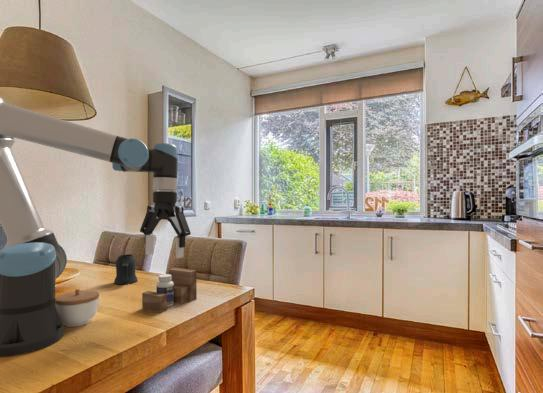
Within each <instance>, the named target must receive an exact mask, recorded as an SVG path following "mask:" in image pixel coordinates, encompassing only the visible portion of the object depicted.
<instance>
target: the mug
mask: <svg viewBox="0 0 543 393" xmlns="http://www.w3.org/2000/svg"><path fill="white" fill-rule="evenodd" d="M136 262H137V261H136V259H135V256H134V255H133V254H128V253H127V254H120V255H118V256H117V259H116V260H115V271H116V272H115V274H116V276H115V278H114V280H113V285H115V284H116V285H117V286H129V285H133V284H136V283H138V277H137V275H136V265H137V264H136ZM128 284H129V285H128Z"/></svg>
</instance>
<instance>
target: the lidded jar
mask: <svg viewBox="0 0 543 393" xmlns="http://www.w3.org/2000/svg"><path fill="white" fill-rule="evenodd" d="M99 297H100V292H99V291H98V290H94V289H93V290H92V289H84V290H83V289H81V290H80V288H77V289H76V288H75V290H74V291H70V292H65V293H62V294H59V295H57V296H55V306H56V308H57V311H58V313H59V316H60V318H61V321H62V323H63V325H64V326H65V327H67V328H76V327H81V326H84V325H86V324H88V323H90V321H91V320H92V319H93V318H94V317H95V315H96V313H97V311H98V308H99V302H100V301H99V300H100V298H99Z"/></svg>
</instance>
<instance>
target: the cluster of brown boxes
mask: <svg viewBox="0 0 543 393" xmlns="http://www.w3.org/2000/svg"><path fill="white" fill-rule="evenodd" d="M168 274H170V275H171V278H172V279H171V281H172V282H173V283H174V304H178V305H179V304H180V305H183V304H185V303H187V302H193V301H196V300H197V298H198V297H197V296H198V295H197V291H198V290H197V289H198V288H197V270H196V269H189V268H188V269H187V268H181V267H180V268H179V267H171V268H168ZM141 295H142V298H141V301H142V304H141V305H142V306H141V308H142V310H147V311H152V312H156V313H159V314H160V313H161V314H162V313H163V312H167V311H168V310H167V309H168V307H167V294H163V293H157V292H156V291H152V290H151V291H150V290H148V291H145V292H142V294H141Z"/></svg>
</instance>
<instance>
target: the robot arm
mask: <svg viewBox="0 0 543 393" xmlns="http://www.w3.org/2000/svg"><path fill="white" fill-rule="evenodd" d="M15 139H18V140H22V141H25V142H28V143H29V142H31V143H33V144H38V145H42V146H45V147H49V148H53V149H57V150H60V151H61V150H62V151H65V152H69V153H73V154H77V155H81V156H85V157H89V158H93V159H97V160H101V161H105V162H109V163H111V165H112V169H113V171H117V172H123V173H126V172H127V173H128V172H133V173H153V176H152V190H154V191H153V193H152V203H154V205H147V206H146V213H145V216H144V218H143V221H142V223H141V227H140V229H139V232H140V233H143V235H144V244H145V251H144V252H145V253H144V254H145V255H146V256H148V255H153V254H154V243H155V242H154V240H155V239H154V238H155V237H154V236H155V235H154V230H155V229H156V227H158V224H159V223H160V221H162V220H166V221H168V222H169V223H170V225H171V227H172V228H173V230H174V232H175V234H176V235H177V236H176V238H175V259H181V258H184V257H185V254H184V252H185V251H184V250H185V247H186V237H188V236H190V235H191V234H192V233H191V230H190V227H189V224H188V221H187V219H186V216H185V214H184V206H182V205H176V204H177V202H178V193H177V192H176V191H177V190H178V160H179V158H178V147H177V146H176V145H175V144H172V143H167V142H166V143H165V142H158V143H155V144H154V145H153V148H148V147H147V145H146V143H144V142H143V141H142V140H140V139H138V138H126V137H123V136H118V135H115V134H113V133H109V132H106V131H102V130H99V129H95V128H92V127H88V126H85V125H81V124H79V123H76V122H71V121H69V120H65V119H61V118H57V117H54V116H52V115H48V114H44V113H40V112H37V111H33V110H30V109H27V108H23V107H20V106H17V105H14V104H10V103H7V102H5V100H4V99H3V98H2V97H1V96H0V225H1V228H2V230H3V232H4V234H5V236H6V239H7V242H6V243H5V245H4V246H3V248H1V249H0V357H12V356H18V355H23V354H28V353H31V352H35V351H38V350H41V349H44V348H47V347H49V346H51V345H53V344H55V343H56V342H58V341H59V340H61V339H62V338H63V336H64V324H63V323H62V321H61V318H60V316H59V313H58V311H57V308H56V306H55V298H56V280H57V279H58V278H59V277H60V276H61V275H62V274H63V272H64V271H65V268H66V266H67V262H68V261H67V260H68V257H67V253H66V250H65V249H64V248H63V246H61V245H60V244H59V242H58V240H57V238H56V235H55V233H54V232H53V230H50V229H47V228H45V226H44V224H43V220H42V218H41V216H40V214H39V211H38V210H37V207H36V205H35V202H34V200H33V198H32V195H31V193H30V190H29V189H28V185H27V183H26V182H25V179H24V177H23V174H22V171H21V169H20V167H19V165H18V161H17V159H16V158H15V156H14V153H13V151H12V150H13V149H12V147H13V146H14V144H15V143H16V142H15Z"/></svg>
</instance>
